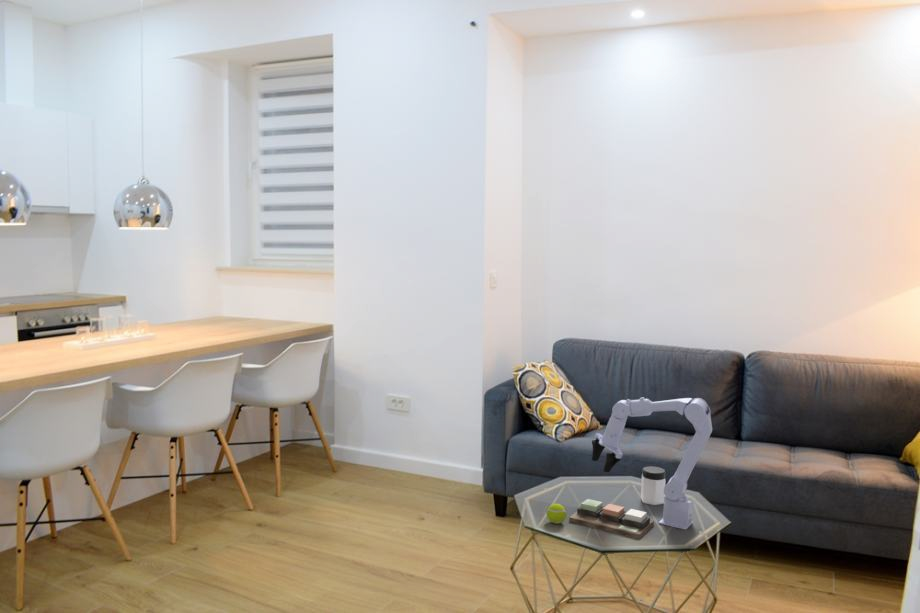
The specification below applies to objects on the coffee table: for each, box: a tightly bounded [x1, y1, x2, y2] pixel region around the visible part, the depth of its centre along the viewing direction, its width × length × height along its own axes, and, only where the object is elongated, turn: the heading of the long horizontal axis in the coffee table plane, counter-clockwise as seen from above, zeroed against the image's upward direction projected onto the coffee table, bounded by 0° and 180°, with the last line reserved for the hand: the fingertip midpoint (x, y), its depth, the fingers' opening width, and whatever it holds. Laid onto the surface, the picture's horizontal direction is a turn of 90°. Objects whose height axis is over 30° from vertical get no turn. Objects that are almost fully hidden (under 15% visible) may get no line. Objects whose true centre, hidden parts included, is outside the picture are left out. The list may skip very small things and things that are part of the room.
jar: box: [640, 465, 666, 506], centre depth 287 cm, size 9×8×12 cm
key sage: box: [580, 498, 603, 512], centre depth 271 cm, size 6×6×2 cm
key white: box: [625, 508, 648, 523], centre depth 262 cm, size 6×6×2 cm
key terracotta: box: [603, 503, 625, 517], centre depth 267 cm, size 6×6×2 cm
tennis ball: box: [546, 503, 567, 525], centre depth 264 cm, size 7×7×7 cm
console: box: [568, 505, 655, 540], centre depth 266 cm, size 25×14×3 cm, turn 57°
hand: (600, 466), depth 277 cm, fingers open, 7 cm apart
